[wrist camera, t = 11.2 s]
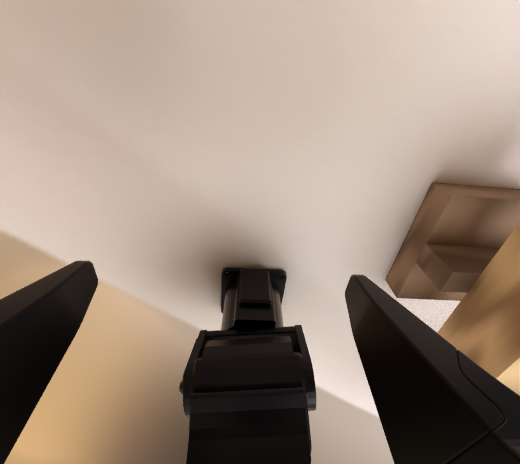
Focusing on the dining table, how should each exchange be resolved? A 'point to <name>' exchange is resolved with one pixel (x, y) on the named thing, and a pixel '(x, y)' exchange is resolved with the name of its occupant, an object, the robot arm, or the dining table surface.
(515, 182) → the dining table surface
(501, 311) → the light wooden block
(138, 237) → the dining table surface
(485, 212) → the ridge stand
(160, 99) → the dining table surface
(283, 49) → the dining table surface
